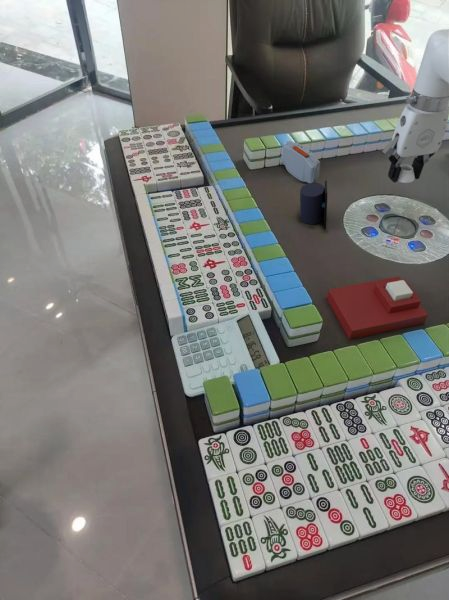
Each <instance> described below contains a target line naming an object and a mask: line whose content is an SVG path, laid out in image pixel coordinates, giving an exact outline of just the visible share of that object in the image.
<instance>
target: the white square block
mask: <svg viewBox="0 0 449 600" xmlns="http://www.w3.org/2000/svg"><path fill="white" fill-rule="evenodd" d="M385 290H386V291H387V293H388V294H389V295H390V297H391V298H392V300H393V301H394V302H395V301H400V300H405V299H410V298H411V296H412V294H413V292H412V290H411V289H410V288H409V286H408V285H407V284H406V282H405V281H404V280H400V281H395V282H390V283H387V285H386V288H385Z"/></svg>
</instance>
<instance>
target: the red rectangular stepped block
mask: <svg viewBox="0 0 449 600" xmlns="http://www.w3.org/2000/svg"><path fill="white" fill-rule="evenodd" d="M400 280H404V281H405V282H406V284H407V285H408V286H409V288H410V289H411V290H412V292H413V294H412V296H411V298H410V299H405V300H400V301H395V302H394V301H393V300H392V298H391V297H390V295H389V294H388V293H387V291H386V290H385V288H386V285H387V283H390V282H395V281H400ZM326 300H327V302H328V304H329V305H330V307H331V309H332V311H333V313H334V314H335V316H336V318H337V320H338V322H339V324H340V325H341V327H342V329H343V330H344V332H345V334H346V336H347V338H348V340H353V339H358V338H361V337H367V336H372V335H377V334H381V333H385V332H391V331H396V330H399V329H405V328H409V327H413V326H414V327H415V326H419V325H423V324H424V323H425V321H426V320H427V318H428V316H429V315H428V313H427V311H426V310H425V309H424V308H423V306H422V305H421V304H422V300H421V298H420V297H419V296H418V294H417V293H416V292H415V291H414V289H413V287H411V285H410V283H409V282H408V281H407V280H406V278H401V277H400V276H399V275H398V276H394V277H388V278H383V279H378V280H377V279H376V280H373V281H367V282H362V283H356V284H351V285H346V286H340V287H335V288H330V289H328V291H327V295H326Z"/></svg>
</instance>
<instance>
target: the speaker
mask: <svg viewBox="0 0 449 600" xmlns="http://www.w3.org/2000/svg"><path fill="white" fill-rule="evenodd" d="M299 199H300V200H299V201H300V203H299V205H300V220H301V221H302V222H303V223H304V224H310V225H315V224H319V223H320V222H322V221H323V229H324V230H327V217H328V216H327V215H328V214H327V213H328V181H327V180H324V185H323V184H321V183H318V182H313V183H308V182H307V183H306V184H304V185H302V186H301V188H300V189H299Z"/></svg>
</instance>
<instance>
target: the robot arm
mask: <svg viewBox="0 0 449 600" xmlns="http://www.w3.org/2000/svg"><path fill="white" fill-rule="evenodd" d="M405 103H406V104H405V106H404V108H403V110H402V112H401V114H400V116H399V119H398V120H397V124H396V126H395V129H394V131H393V135H392V137H391V141H390V142H389V143H388V144H387V145H386V146H385V147H384V148H383V150H382V151H381V153H382V154H383V155H384V156H385V158H387V159H388V160H389V162H390V165H389V169H388V173H387V177H388V179H389V180H390V181H391V182H393V183H397V182H398V181H397V180H398V177H399V174H400V171H401V166H400V165H402V164H403V161H404V160H405V158H411V157H414V159H413V161H412V163H411V166H412V167H413V171H414V175H415V179H414V180H419V179H420V177H421V174H422V172H423V169H424V166H425V164H427V163H428V162H429V159H430V158H431V157H433V156H434V155H435V154H436V152H438V151H439V150H441V149H442V148H443V147H444V142H443V139H444V135H445V132H446V129H447V125H448V122H449V106H448V105H449V28H447V29H438V30H435V31H434V32H431V34H430V36H429V37H428V40H427V42H426V46H425V49H424V52H423V55H422V58H421V62H420V65H419V68H418V71H417V75H416V78H415V81H414V84H413V87H412V91H411V94H410V96H407V97H406V98H405Z"/></svg>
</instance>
